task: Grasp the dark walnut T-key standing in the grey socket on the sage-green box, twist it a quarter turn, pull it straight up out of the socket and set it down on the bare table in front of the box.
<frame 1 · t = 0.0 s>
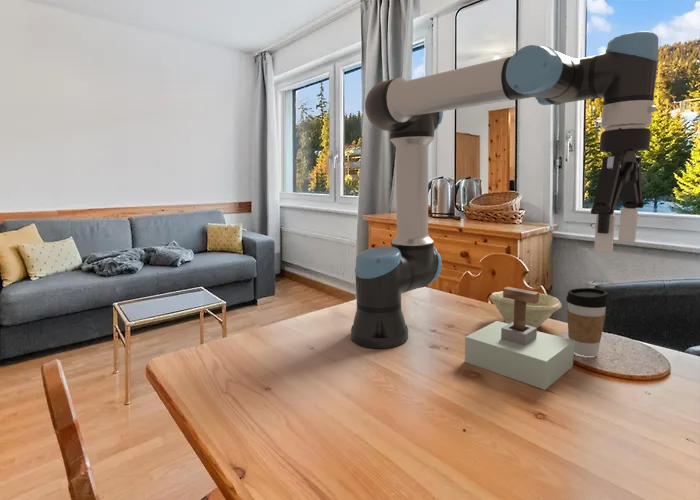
hand: (615, 246, 78), 28 cm above the table, fingers open, 13 cm apart
coffee cup: (583, 353, 98), on the table
bowl: (523, 325, 116), on the table
socket box: (517, 364, 93), on the table
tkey: (518, 338, 92), point 6 cm above the table, touching socket box
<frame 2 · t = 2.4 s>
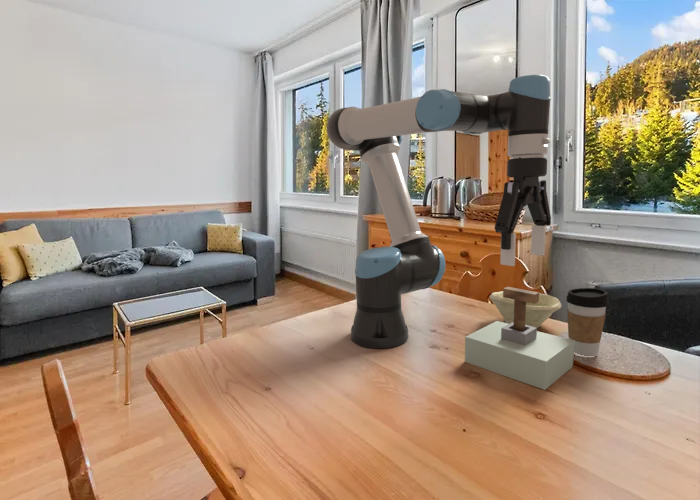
hand: (523, 259, 88), 24 cm above the table, fingers open, 13 cm apart
nothing on the table moved.
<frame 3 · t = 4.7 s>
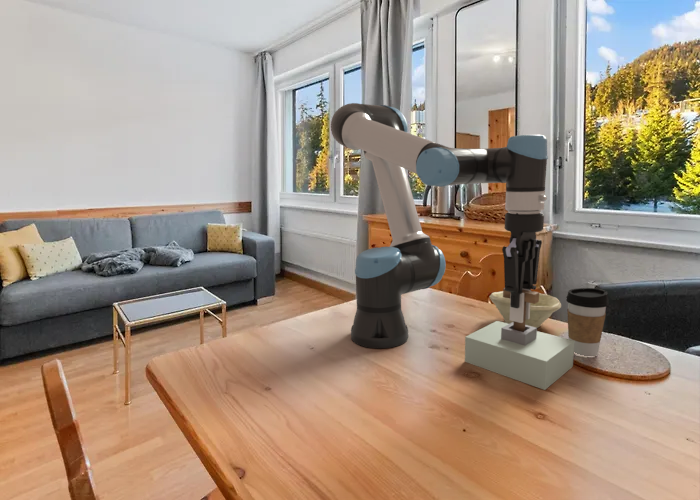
hand: (519, 319, 91), 11 cm above the table, fingers closed on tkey, 2 cm apart
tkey: (518, 338, 92), point 6 cm above the table, touching gripper, socket box
everything else where it was.
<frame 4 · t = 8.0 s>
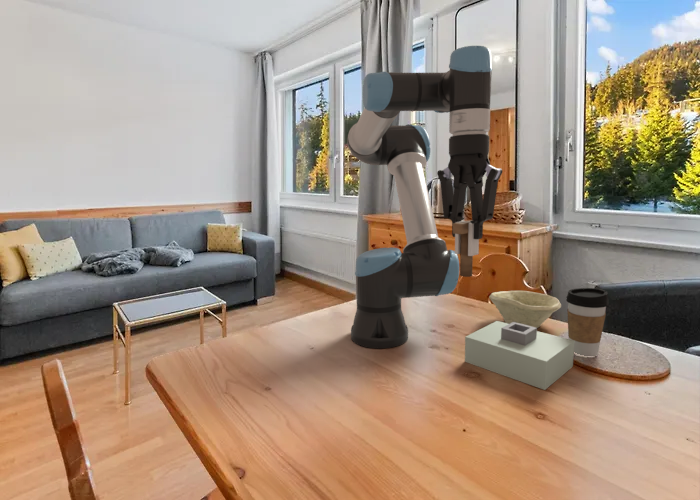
hand: (466, 253, 85), 26 cm above the table, fingers closed on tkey, 2 cm apart
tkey: (466, 275, 85), point 22 cm above the table, touching gripper
everything else where it was.
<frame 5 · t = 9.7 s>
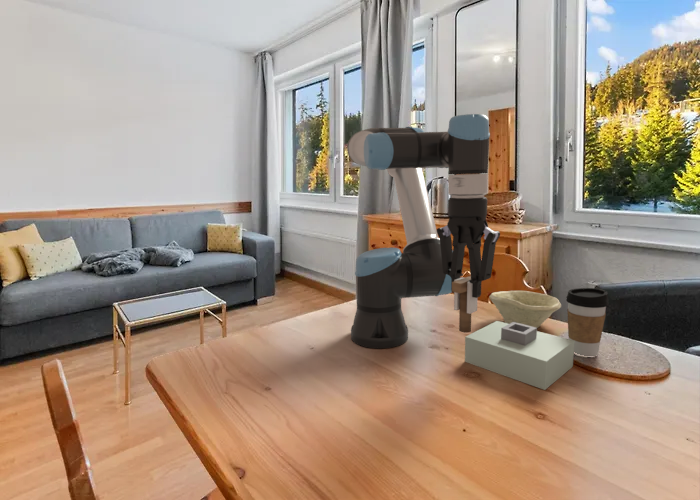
hand: (465, 309, 87), 14 cm above the table, fingers closed on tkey, 2 cm apart
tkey: (465, 330, 87), point 10 cm above the table, touching gripper
everything else where it was.
when the fingers open (6 cm above the table, at t = 11.6 s): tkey drops 1 cm, on the table.
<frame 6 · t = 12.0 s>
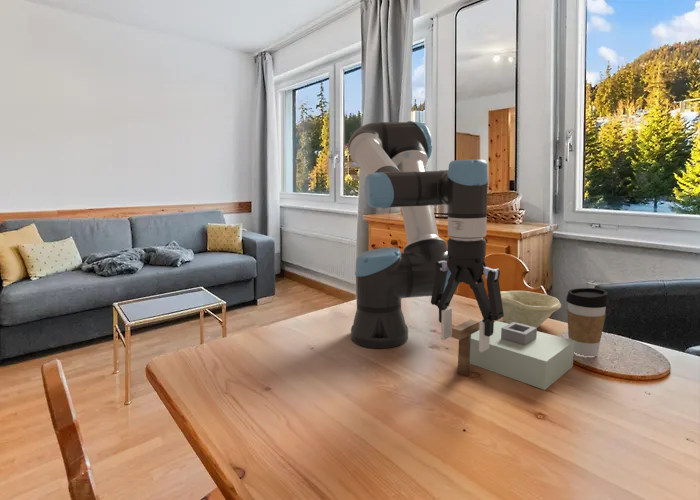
hand: (464, 343, 88), 7 cm above the table, fingers open, 8 cm apart
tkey: (463, 373, 89), on the table
everything else where it was.
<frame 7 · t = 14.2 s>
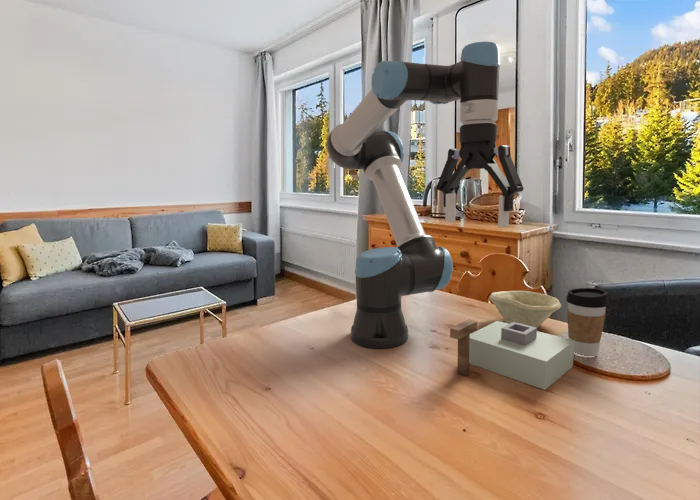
hand: (475, 224, 91), 31 cm above the table, fingers open, 13 cm apart
nothing on the table moved.
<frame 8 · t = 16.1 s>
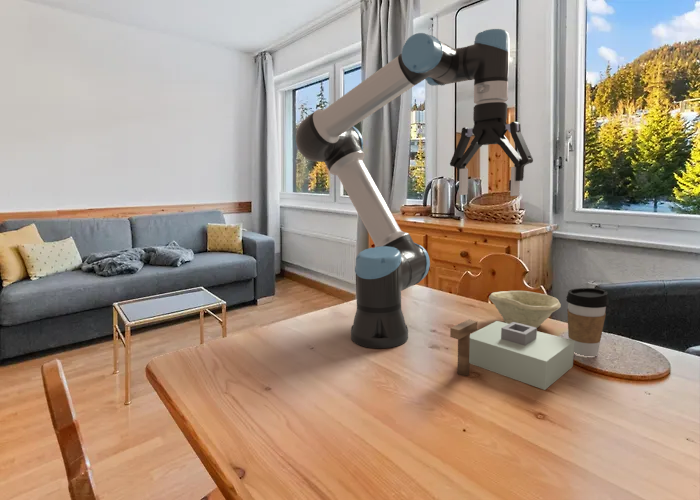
hand: (487, 195, 101), 37 cm above the table, fingers open, 13 cm apart
nothing on the table moved.
at the end: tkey inside the target area (0.5 cm from its centre), on the table; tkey touching table; the gripper is holding nothing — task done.
